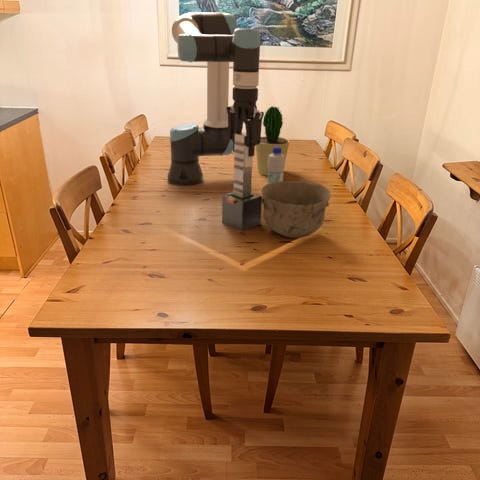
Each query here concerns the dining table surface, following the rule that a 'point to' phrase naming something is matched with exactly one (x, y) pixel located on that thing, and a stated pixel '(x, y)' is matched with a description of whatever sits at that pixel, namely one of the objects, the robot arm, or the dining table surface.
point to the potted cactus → (270, 139)
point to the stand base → (241, 211)
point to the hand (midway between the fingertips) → (243, 164)
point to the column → (241, 169)
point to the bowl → (295, 207)
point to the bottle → (276, 166)
